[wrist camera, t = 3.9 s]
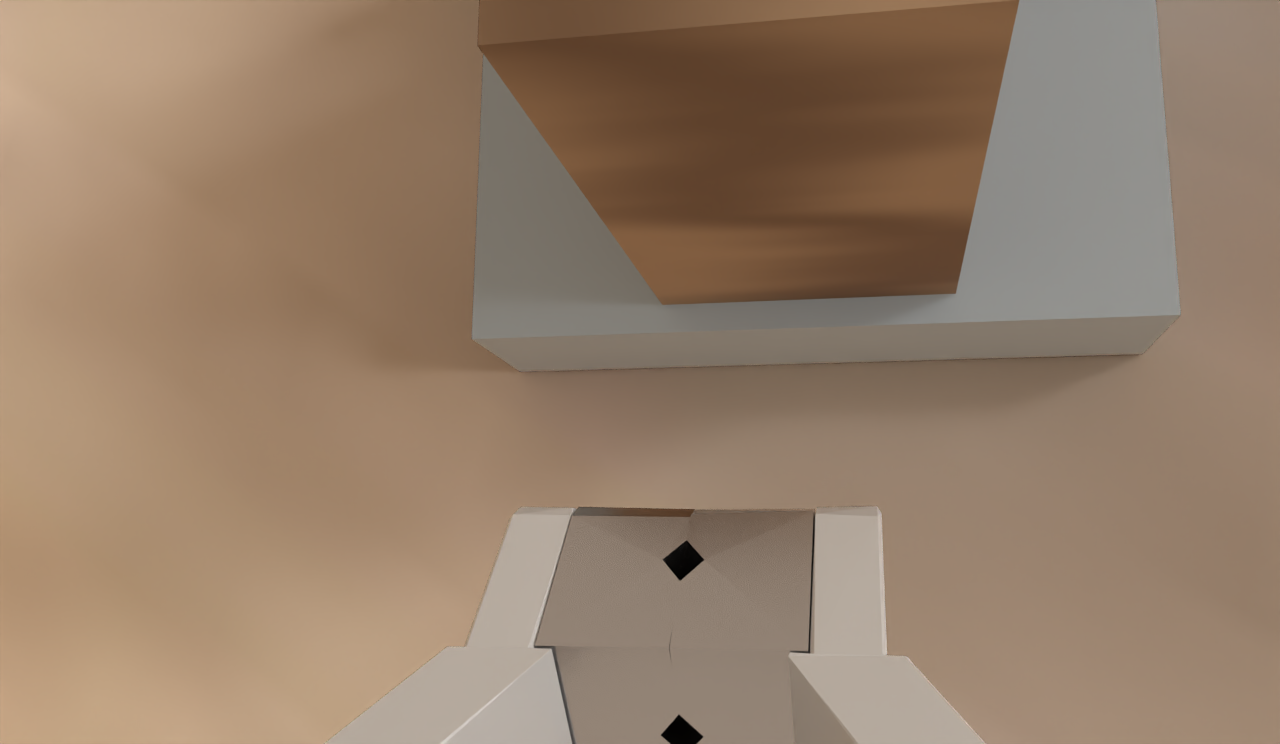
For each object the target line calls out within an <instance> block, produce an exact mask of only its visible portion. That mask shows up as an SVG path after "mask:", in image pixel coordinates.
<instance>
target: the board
mask: <svg viewBox="0 0 1280 744" xmlns="http://www.w3.org/2000/svg"><path fill="white" fill-rule="evenodd" d="M1180 315H1181V310H1180V298H1179V285H1178V272H1177V260H1176V247H1175V234H1174V222H1173V209H1172V197H1171V184H1170V171H1169V159H1168V146H1167V134H1166V121H1165V108H1164V96H1163V83H1162V70H1161V58H1160V45H1159V33H1158V20H1157V7H1156V0H1019V5H1018V9H1017V14H1016V19H1015V23H1014V28H1013V32H1012V37H1011V42H1010V46H1009V51H1008V55H1007V60H1006V65H1005V69H1004V74H1003V79H1002V83H1001V88H1000V92H999V97H998V102H997V106H996V111H995V115H994V120H993V125H992V129H991V134H990V138H989V143H988V148H987V152H986V157H985V161H984V166H983V171H982V175H981V180H980V185H979V189H978V194H977V198H976V203H975V208H974V212H973V217H972V221H971V226H970V231H969V235H968V240H967V244H966V249H965V254H964V258H963V263H962V268H961V272H960V277H959V281H958V286H957V291H956V294H934V295H908V296H882V297H857V298H831V299H805V300H779V301H753V302H728V303H702V304H676V305H662V304H661V302H660V301H659V299H658V298H657V297H656V295H655V294H654V292H653V291H652V290H651V288H650V287H649V285H648V284H647V283H646V281H645V280H644V278H643V277H642V276H641V274H640V273H639V271H638V270H637V269H636V267H635V266H634V264H633V263H632V261H631V260H630V259H629V257H628V256H627V254H626V253H625V252H624V250H623V249H622V247H621V246H620V245H619V243H618V242H617V240H616V239H615V238H614V236H613V235H612V233H611V232H610V231H609V229H608V228H607V226H606V225H605V224H604V222H603V221H602V219H601V218H600V217H599V215H598V214H597V212H596V211H595V210H594V208H593V207H592V205H591V204H590V203H589V201H588V200H587V198H586V197H585V196H584V194H583V193H582V191H581V190H580V189H579V187H578V186H577V184H576V183H575V182H574V180H573V179H572V177H571V176H570V175H569V173H568V172H567V170H566V169H565V167H564V166H563V165H562V163H561V162H560V160H559V159H558V158H557V156H556V155H555V153H554V152H553V151H552V149H551V148H550V146H549V145H548V144H547V142H546V141H545V139H544V138H543V137H542V135H541V134H540V132H539V131H538V130H537V128H536V127H535V125H534V124H533V123H532V121H531V120H530V118H529V117H528V116H527V114H526V113H525V111H524V110H523V109H522V107H521V106H520V104H519V103H518V102H517V100H516V99H515V97H514V96H513V95H512V93H511V92H510V90H509V89H508V88H507V86H506V85H505V83H504V82H503V81H502V79H501V78H500V76H499V75H498V74H497V72H496V71H495V69H494V68H493V66H492V65H491V64H490V62H489V61H488V59H487V58H486V57H485V55H484V54H483V71H482V95H481V120H480V145H479V170H478V194H477V219H476V244H475V268H474V293H473V318H472V340H474V341H475V342H477V343H478V344H479V345H481V346H482V347H484V348H485V349H487V350H488V351H490V352H491V353H493V354H494V355H496V356H497V357H499V358H500V359H502V360H503V361H505V362H506V363H508V364H509V365H511V366H512V367H514V368H515V369H517V370H518V371H520V372H530V371H566V370H601V369H636V368H671V367H706V366H741V365H776V364H811V363H846V362H882V361H917V360H952V359H987V358H1022V357H1057V356H1092V355H1127V354H1143V353H1144V352H1145V351H1146V350H1147V349H1148V348H1149V347H1150V346H1151V345H1152V344H1153V343H1154V342H1155V341H1156V340H1157V339H1158V338H1159V337H1160V336H1161V335H1162V334H1163V333H1164V332H1165V331H1166V330H1167V329H1168V328H1169V327H1170V326H1171V325H1172V324H1173V322H1174V321H1175V320H1176V319H1177V318H1178V317H1179V316H1180Z"/></svg>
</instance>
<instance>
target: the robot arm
mask: <svg viewBox="0 0 1280 744" xmlns="http://www.w3.org/2000/svg"><path fill="white" fill-rule="evenodd" d="M324 744H986V743H985V742H984V741H983V740H982V739H981V737H980V736H979V735H978V734H977V733H976V732H975V731H974V730H973V729H972V728H971V726H970V725H969V724H968V723H967V722H966V721H965V720H964V719H963V718H962V717H961V715H960V714H959V713H958V712H957V711H956V710H955V709H954V708H953V707H952V705H951V704H950V703H949V702H948V701H947V700H946V699H945V698H944V697H943V696H942V694H941V693H940V692H939V691H938V690H937V689H936V688H935V687H934V686H933V684H932V683H931V682H930V681H929V680H928V679H927V678H926V677H925V676H924V675H923V673H922V672H921V671H920V670H919V669H918V668H917V667H916V666H915V665H914V664H913V662H912V661H911V660H910V659H909V658H908V657H907V656H893V655H887V638H886V612H885V587H884V562H883V537H882V514H881V512H880V510H879V508H878V507H877V506H853V507H817V509H816V513H815V509H734V510H695V509H651V508H604V507H579V508H578V509H576V508H560V507H520V508H519V509H518V510H517V511H516V512H515V513H514V514H513V515H512V516H511V518H510V519H509V522H508V525H507V527H506V530H505V533H504V536H503V539H502V542H501V544H500V547H499V550H498V553H497V556H496V558H495V561H494V564H493V567H492V570H491V572H490V575H489V578H488V581H487V584H486V587H485V589H484V592H483V595H482V598H481V601H480V603H479V606H478V609H477V612H476V615H475V617H474V620H473V623H472V626H471V629H470V631H469V634H468V637H467V640H466V643H465V646H464V647H446V648H444V649H443V650H442V651H441V652H439V653H438V654H437V655H436V656H434V657H433V658H432V659H430V660H429V661H428V662H427V663H425V664H424V665H423V666H422V667H420V668H419V669H418V670H416V671H415V672H414V673H413V674H411V675H410V676H409V677H408V678H406V679H405V680H404V681H403V682H401V683H400V684H399V685H397V686H396V687H395V688H394V689H392V690H391V691H390V692H389V693H387V694H386V695H385V696H384V697H382V698H381V699H380V700H378V701H377V702H376V703H375V704H373V705H372V706H371V707H370V708H368V709H367V710H366V711H364V712H363V713H362V714H361V715H359V716H358V717H357V718H356V719H354V720H353V721H352V722H351V723H349V724H348V725H347V726H345V727H344V728H343V729H342V730H340V731H339V732H338V733H337V734H335V735H334V736H333V737H332V738H330V739H329V740H328V741H326V742H325V743H324Z"/></svg>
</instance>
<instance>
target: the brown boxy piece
mask: <svg viewBox="0 0 1280 744" xmlns="http://www.w3.org/2000/svg"><path fill="white" fill-rule="evenodd" d="M1018 5H1019V0H479V20H478V44H477V45H478V47H479V48H480V50H481V51H482V52H483V54H484V55H485V57H486V58H487V59H488V61H489V62H490V64H491V65H492V66H493V68H494V69H495V71H496V72H497V74H498V75H499V76H500V78H501V79H502V81H503V82H504V83H505V85H506V86H507V88H508V89H509V90H510V92H511V93H512V95H513V96H514V97H515V99H516V100H517V102H518V103H519V104H520V106H521V107H522V109H523V110H524V111H525V113H526V114H527V116H528V117H529V118H530V120H531V121H532V123H533V124H534V125H535V127H536V128H537V130H538V131H539V132H540V134H541V135H542V137H543V138H544V139H545V141H546V142H547V144H548V145H549V146H550V148H551V149H552V151H553V152H554V153H555V155H556V156H557V158H558V159H559V160H560V162H561V163H562V165H563V166H564V167H565V169H566V170H567V172H568V173H569V175H570V176H571V177H572V179H573V180H574V182H575V183H576V184H577V186H578V187H579V189H580V190H581V191H582V193H583V194H584V196H585V197H586V198H587V200H588V201H589V203H590V204H591V205H592V207H593V208H594V210H595V211H596V212H597V214H598V215H599V217H600V218H601V219H602V221H603V222H604V224H605V225H606V226H607V228H608V229H609V231H610V232H611V233H612V235H613V236H614V238H615V239H616V240H617V242H618V243H619V245H620V246H621V247H622V249H623V250H624V252H625V253H626V254H627V256H628V257H629V259H630V260H631V261H632V263H633V264H634V266H635V267H636V269H637V270H638V271H639V273H640V274H641V276H642V277H643V278H644V280H645V281H646V283H647V284H648V285H649V287H650V288H651V290H652V291H653V292H654V294H655V295H656V297H657V298H658V299H659V301H660V302H661V304H662V305H676V304H702V303H728V302H753V301H779V300H805V299H831V298H857V297H882V296H908V295H934V294H956V291H957V286H958V281H959V277H960V272H961V268H962V263H963V258H964V254H965V249H966V244H967V240H968V235H969V231H970V226H971V221H972V217H973V212H974V208H975V203H976V198H977V194H978V189H979V185H980V180H981V175H982V171H983V166H984V161H985V157H986V152H987V148H988V143H989V138H990V134H991V129H992V125H993V120H994V115H995V111H996V106H997V102H998V97H999V92H1000V88H1001V83H1002V79H1003V74H1004V69H1005V65H1006V60H1007V55H1008V51H1009V46H1010V42H1011V37H1012V32H1013V28H1014V23H1015V19H1016V14H1017V9H1018Z"/></svg>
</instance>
